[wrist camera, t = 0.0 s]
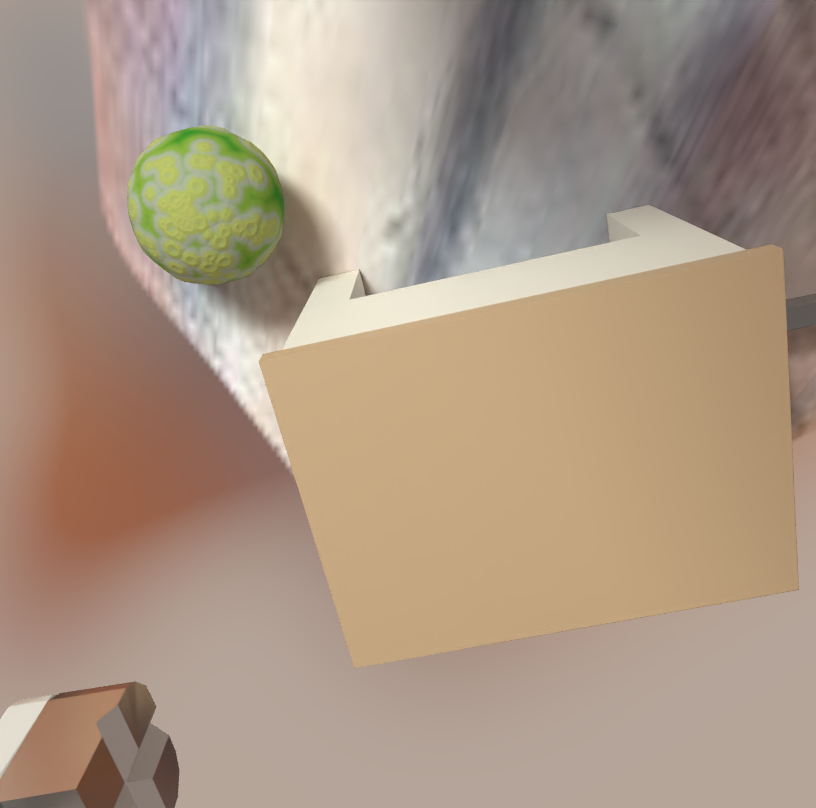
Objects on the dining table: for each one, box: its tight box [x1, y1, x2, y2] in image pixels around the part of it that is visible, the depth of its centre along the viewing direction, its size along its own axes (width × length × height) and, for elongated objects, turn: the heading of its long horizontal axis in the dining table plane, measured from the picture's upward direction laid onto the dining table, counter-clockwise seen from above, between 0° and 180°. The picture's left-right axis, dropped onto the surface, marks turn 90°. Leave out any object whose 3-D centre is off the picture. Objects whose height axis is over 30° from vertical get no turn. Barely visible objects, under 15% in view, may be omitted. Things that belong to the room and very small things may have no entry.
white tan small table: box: [259, 205, 799, 668], centre depth 49 cm, size 19×25×20 cm
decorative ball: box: [127, 125, 284, 285], centre depth 50 cm, size 10×10×10 cm
